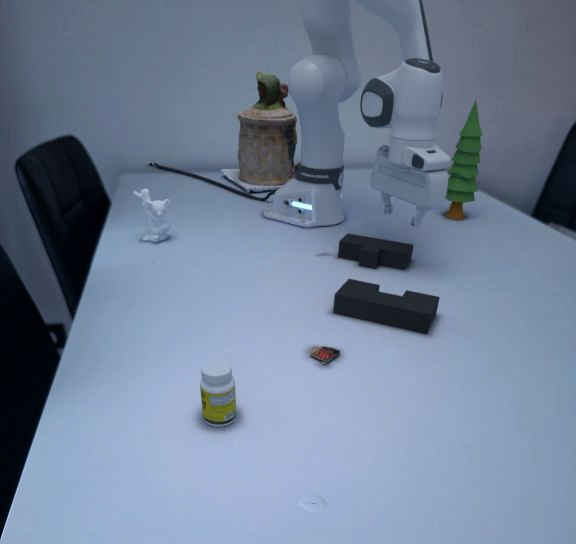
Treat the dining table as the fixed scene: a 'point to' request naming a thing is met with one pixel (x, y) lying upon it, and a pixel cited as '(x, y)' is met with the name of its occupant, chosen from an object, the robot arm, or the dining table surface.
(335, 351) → the matchbox
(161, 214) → the koala figurine
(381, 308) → the charcoal pad
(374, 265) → the black pad
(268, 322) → the dining table surface
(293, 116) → the cookie jar
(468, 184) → the decorative tree
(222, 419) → the supplement bottle
